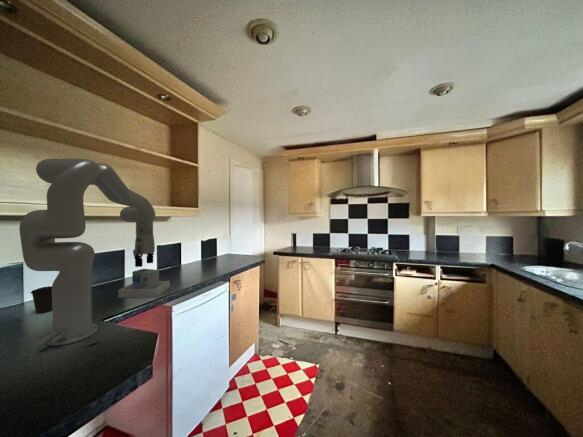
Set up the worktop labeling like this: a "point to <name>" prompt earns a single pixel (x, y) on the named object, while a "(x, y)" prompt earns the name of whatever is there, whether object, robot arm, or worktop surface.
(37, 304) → the coffee cup
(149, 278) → the light bulb box
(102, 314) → the worktop surface
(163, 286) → the grey tray
